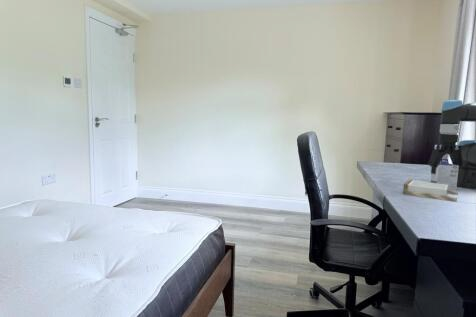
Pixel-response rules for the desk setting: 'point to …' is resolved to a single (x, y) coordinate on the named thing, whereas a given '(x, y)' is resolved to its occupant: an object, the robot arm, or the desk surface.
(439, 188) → the caddy
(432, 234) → the desk surface
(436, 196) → the backstop
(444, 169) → the ink cartridge box
